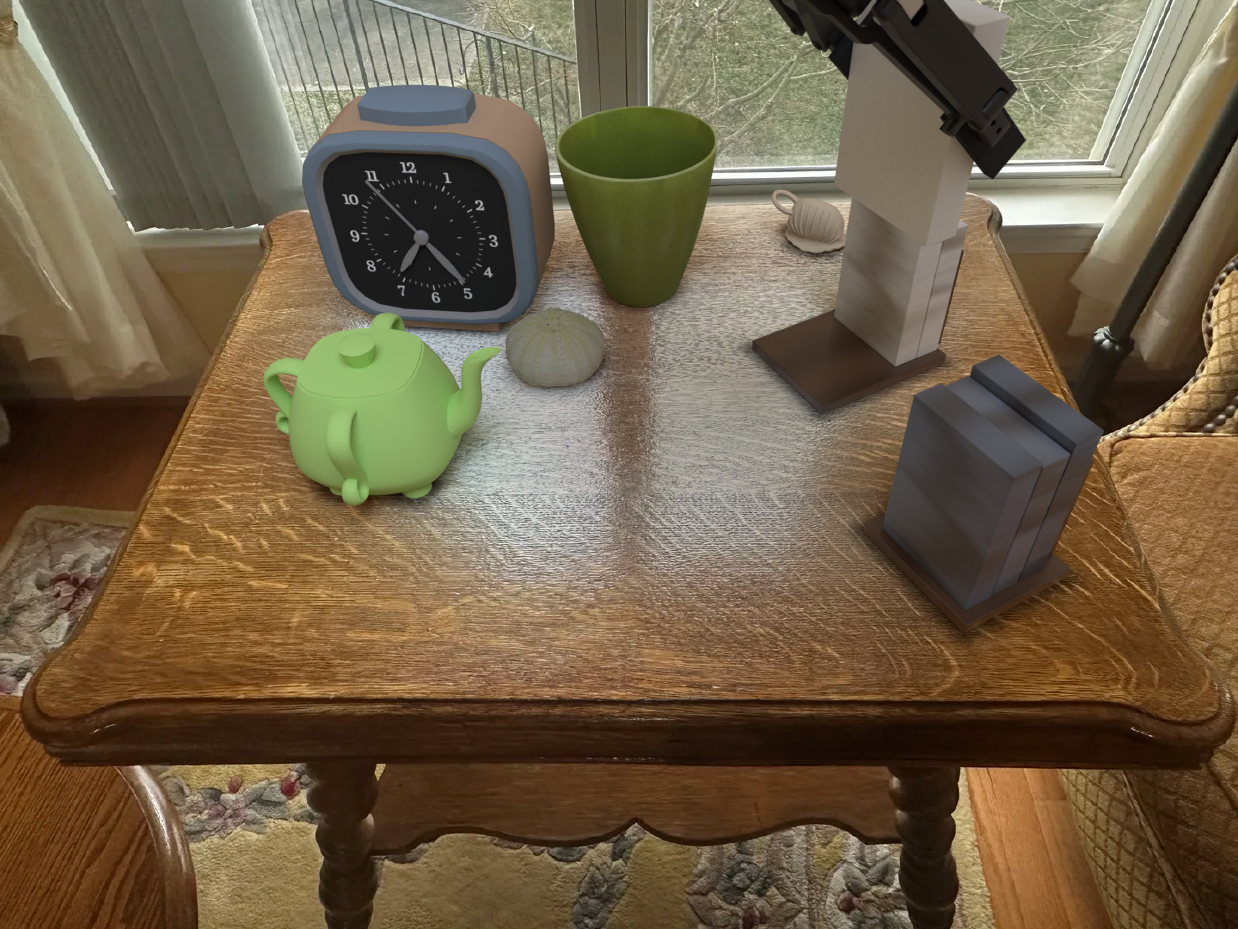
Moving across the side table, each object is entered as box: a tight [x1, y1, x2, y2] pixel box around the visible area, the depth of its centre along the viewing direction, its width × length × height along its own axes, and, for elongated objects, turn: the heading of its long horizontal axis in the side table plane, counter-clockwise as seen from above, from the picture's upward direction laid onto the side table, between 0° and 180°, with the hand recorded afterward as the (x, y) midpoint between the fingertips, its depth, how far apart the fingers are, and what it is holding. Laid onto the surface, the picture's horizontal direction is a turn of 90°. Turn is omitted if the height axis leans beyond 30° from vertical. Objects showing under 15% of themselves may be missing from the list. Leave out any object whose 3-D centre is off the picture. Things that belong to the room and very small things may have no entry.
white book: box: [833, 0, 1010, 247], centre depth 56 cm, size 9×2×13 cm, turn 29°
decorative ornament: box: [770, 189, 846, 254], centre depth 101 cm, size 4×8×5 cm, turn 58°
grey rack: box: [863, 354, 1105, 634], centre depth 66 cm, size 11×10×15 cm
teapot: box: [262, 313, 502, 507], centre depth 76 cm, size 16×14×13 cm
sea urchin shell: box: [504, 307, 606, 388], centre depth 88 cm, size 9×8×8 cm
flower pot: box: [554, 105, 719, 308], centre depth 92 cm, size 15×15×16 cm
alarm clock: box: [301, 84, 556, 332], centre depth 89 cm, size 21×10×22 cm, turn 82°
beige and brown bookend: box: [751, 197, 969, 415], centre depth 83 cm, size 11×15×14 cm
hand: (946, 125), depth 58 cm, fingers closed on white book, 9 cm apart
